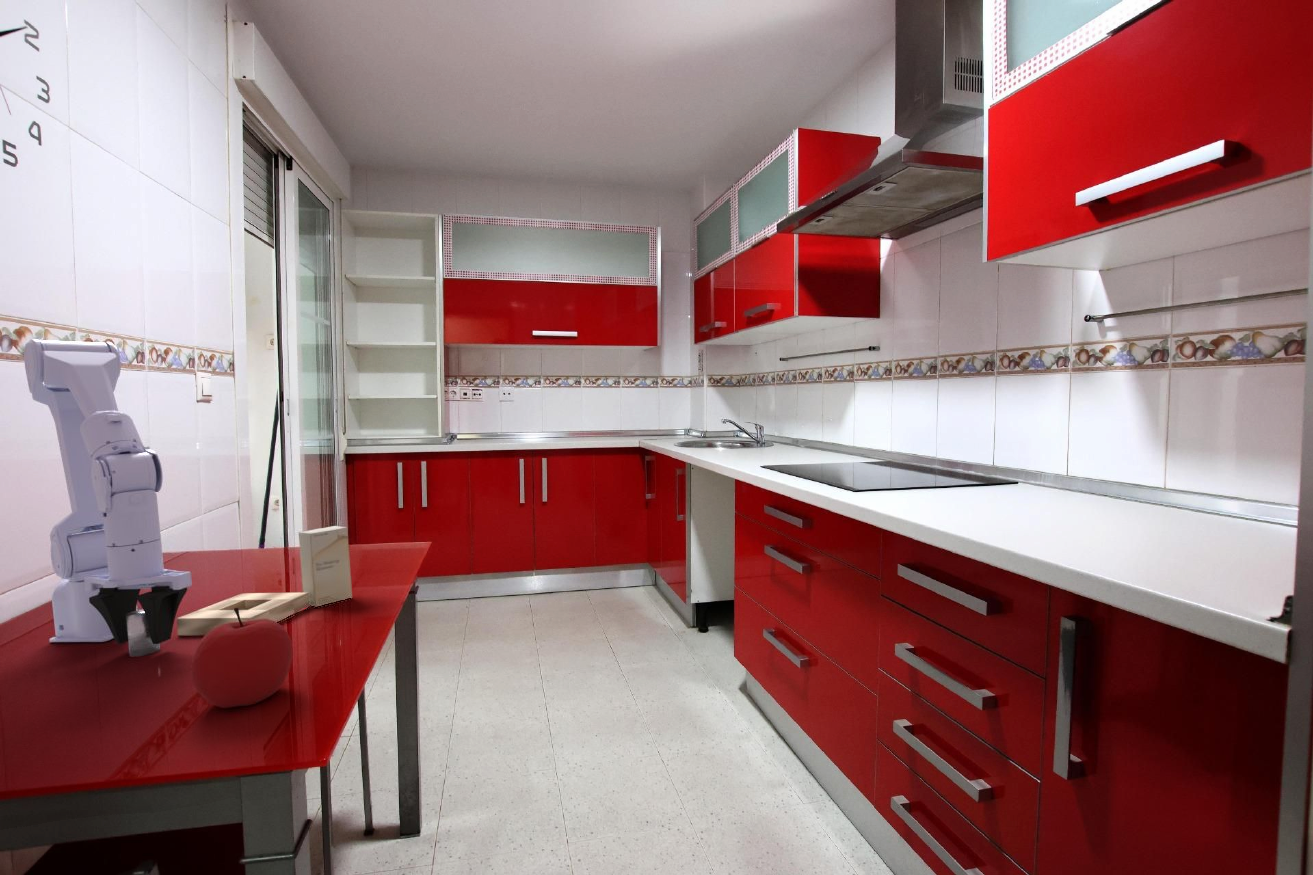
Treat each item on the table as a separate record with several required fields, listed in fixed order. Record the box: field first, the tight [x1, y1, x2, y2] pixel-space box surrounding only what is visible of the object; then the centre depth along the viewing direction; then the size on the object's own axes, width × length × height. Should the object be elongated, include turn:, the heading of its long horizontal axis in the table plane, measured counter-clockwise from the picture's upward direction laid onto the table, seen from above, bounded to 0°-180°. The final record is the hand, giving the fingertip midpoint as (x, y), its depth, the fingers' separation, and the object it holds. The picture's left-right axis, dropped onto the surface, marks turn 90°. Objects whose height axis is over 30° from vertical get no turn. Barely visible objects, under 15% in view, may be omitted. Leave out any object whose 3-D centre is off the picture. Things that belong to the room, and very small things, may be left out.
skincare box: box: [298, 525, 353, 607], centre depth 104 cm, size 6×4×12 cm
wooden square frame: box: [176, 591, 311, 636], centre depth 96 cm, size 12×12×2 cm
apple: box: [190, 608, 294, 709], centre depth 68 cm, size 9×9×10 cm
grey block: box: [126, 608, 161, 658], centre depth 85 cm, size 3×3×6 cm
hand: (143, 641), depth 85 cm, fingers open, 5 cm apart
